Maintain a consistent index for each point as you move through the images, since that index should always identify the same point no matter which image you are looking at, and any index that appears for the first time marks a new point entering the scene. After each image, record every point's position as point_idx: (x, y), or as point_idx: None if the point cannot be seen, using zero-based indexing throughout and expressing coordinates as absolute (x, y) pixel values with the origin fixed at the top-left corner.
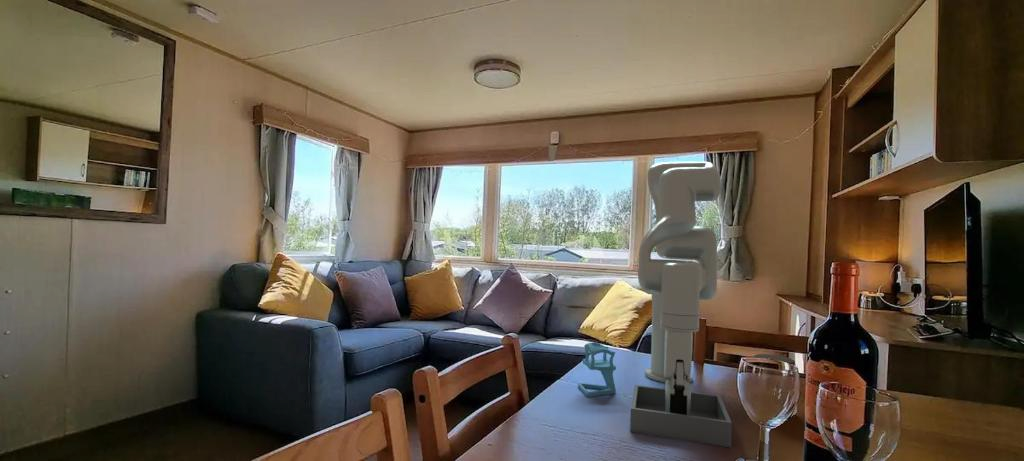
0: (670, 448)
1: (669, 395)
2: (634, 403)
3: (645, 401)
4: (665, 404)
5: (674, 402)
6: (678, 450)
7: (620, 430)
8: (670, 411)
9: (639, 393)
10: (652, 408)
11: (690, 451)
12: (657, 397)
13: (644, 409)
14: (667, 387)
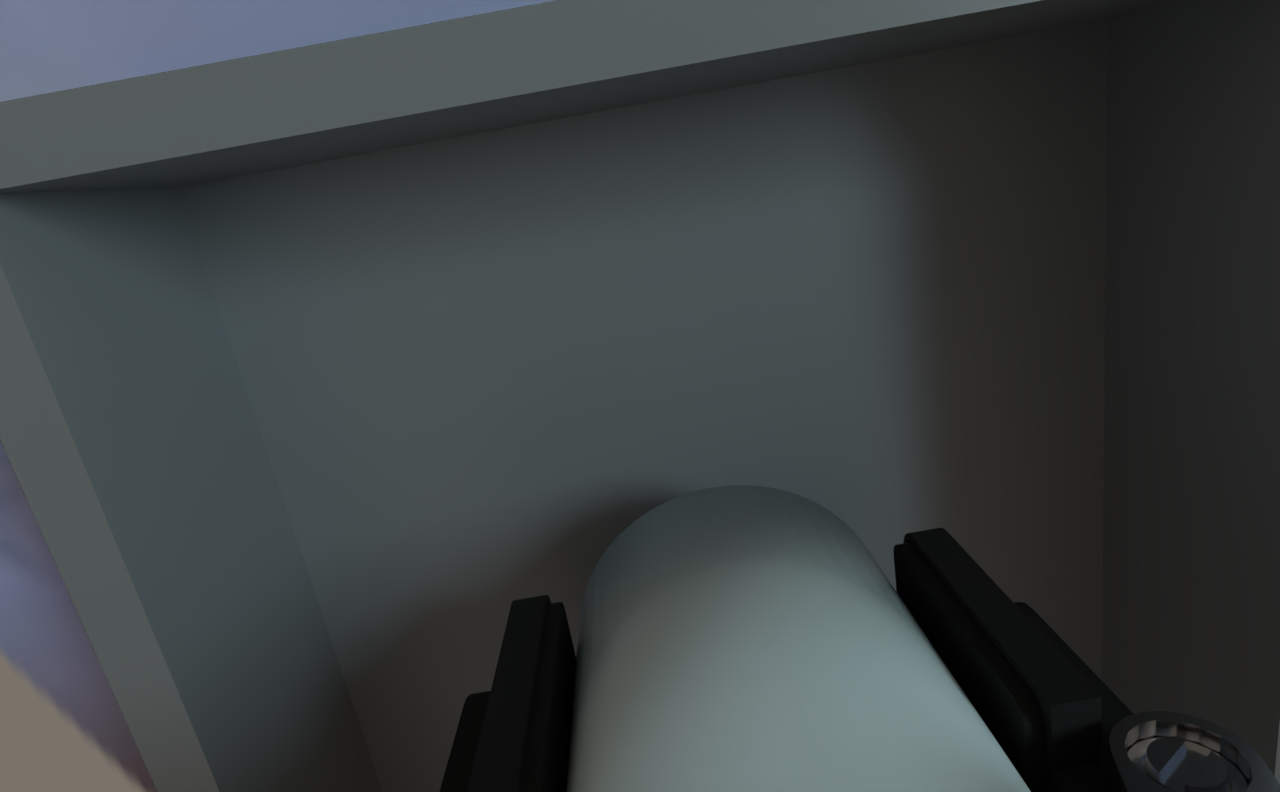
0: (39, 592)
1: (604, 722)
2: (199, 127)
3: (1134, 133)
4: (676, 546)
5: (445, 778)
6: (52, 655)
7: (91, 18)
8: (510, 618)
9: (1227, 11)
10: (989, 254)
11: (112, 737)
12: (1193, 314)
13: (22, 360)
14: (645, 790)
